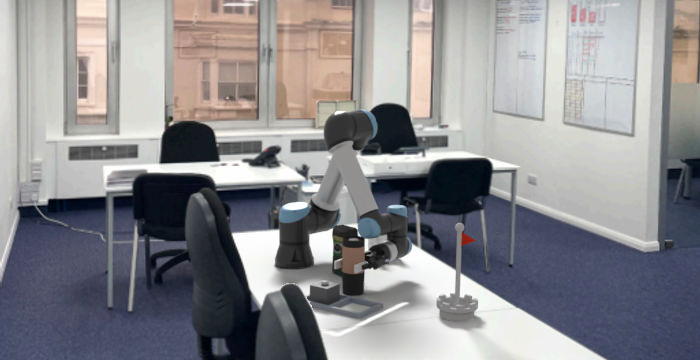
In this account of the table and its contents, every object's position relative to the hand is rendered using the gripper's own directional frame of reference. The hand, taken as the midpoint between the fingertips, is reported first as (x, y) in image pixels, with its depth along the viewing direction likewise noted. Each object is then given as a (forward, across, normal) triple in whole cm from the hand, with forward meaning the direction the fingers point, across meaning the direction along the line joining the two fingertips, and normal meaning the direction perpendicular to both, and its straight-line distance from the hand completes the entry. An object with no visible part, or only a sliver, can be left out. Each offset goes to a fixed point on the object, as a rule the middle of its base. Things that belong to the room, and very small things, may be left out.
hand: (345, 267), depth 271 cm
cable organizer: (-54, +19, -11) cm, 58 cm away
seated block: (+9, +2, -10) cm, 14 cm away
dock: (+9, -4, -11) cm, 15 cm away
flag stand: (-8, -38, -11) cm, 40 cm away
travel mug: (-5, 0, -11) cm, 12 cm away
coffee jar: (-24, +17, -11) cm, 31 cm away
